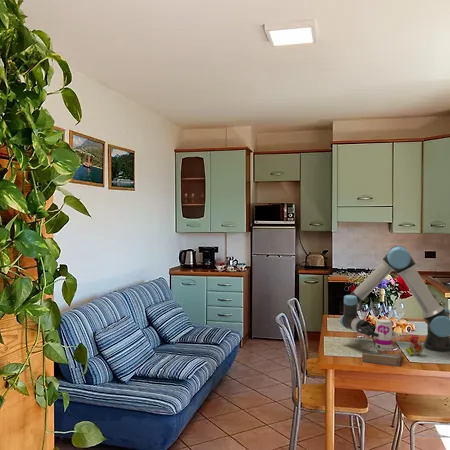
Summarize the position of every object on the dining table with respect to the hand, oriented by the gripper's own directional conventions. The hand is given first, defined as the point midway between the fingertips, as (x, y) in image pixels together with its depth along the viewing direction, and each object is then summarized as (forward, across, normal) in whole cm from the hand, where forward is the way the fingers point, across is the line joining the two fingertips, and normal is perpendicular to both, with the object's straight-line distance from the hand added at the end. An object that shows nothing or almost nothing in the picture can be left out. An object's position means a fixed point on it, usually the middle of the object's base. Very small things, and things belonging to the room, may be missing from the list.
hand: (390, 335), depth 232 cm
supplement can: (-5, 0, -8) cm, 9 cm away
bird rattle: (-5, -22, -14) cm, 26 cm away
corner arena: (-6, 0, -14) cm, 15 cm away
